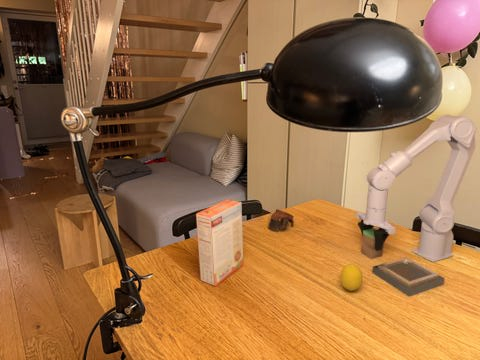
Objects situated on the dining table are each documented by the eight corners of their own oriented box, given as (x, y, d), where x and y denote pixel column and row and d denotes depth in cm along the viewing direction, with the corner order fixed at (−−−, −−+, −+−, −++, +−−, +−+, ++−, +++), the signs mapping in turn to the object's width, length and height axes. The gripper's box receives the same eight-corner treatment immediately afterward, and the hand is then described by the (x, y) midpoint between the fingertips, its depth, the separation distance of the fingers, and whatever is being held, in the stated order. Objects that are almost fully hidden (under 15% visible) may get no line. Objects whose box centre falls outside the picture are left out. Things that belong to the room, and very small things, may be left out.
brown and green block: (371, 250, 114) (373, 228, 112) (382, 256, 110) (384, 233, 108) (361, 253, 113) (363, 230, 111) (371, 259, 109) (373, 235, 107)
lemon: (362, 298, 89) (365, 270, 87) (340, 295, 90) (342, 268, 88) (359, 286, 95) (362, 259, 92) (338, 284, 96) (340, 258, 93)
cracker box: (228, 260, 109) (226, 198, 104) (244, 266, 106) (243, 201, 100) (198, 280, 98) (195, 212, 93) (215, 287, 95) (212, 216, 89)
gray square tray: (404, 263, 106) (405, 254, 105) (443, 284, 95) (445, 275, 94) (372, 272, 101) (373, 264, 100) (409, 296, 90) (410, 287, 89)
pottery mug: (263, 226, 136) (270, 207, 137) (283, 234, 138) (291, 215, 139) (273, 230, 124) (281, 209, 125) (295, 239, 127) (303, 219, 127)
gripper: (350, 201, 112) (347, 239, 116) (384, 216, 99) (380, 258, 103) (366, 198, 115) (363, 235, 118) (402, 212, 102) (397, 254, 106)
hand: (372, 246), depth 111 cm, fingers closed on brown and green block, 4 cm apart
